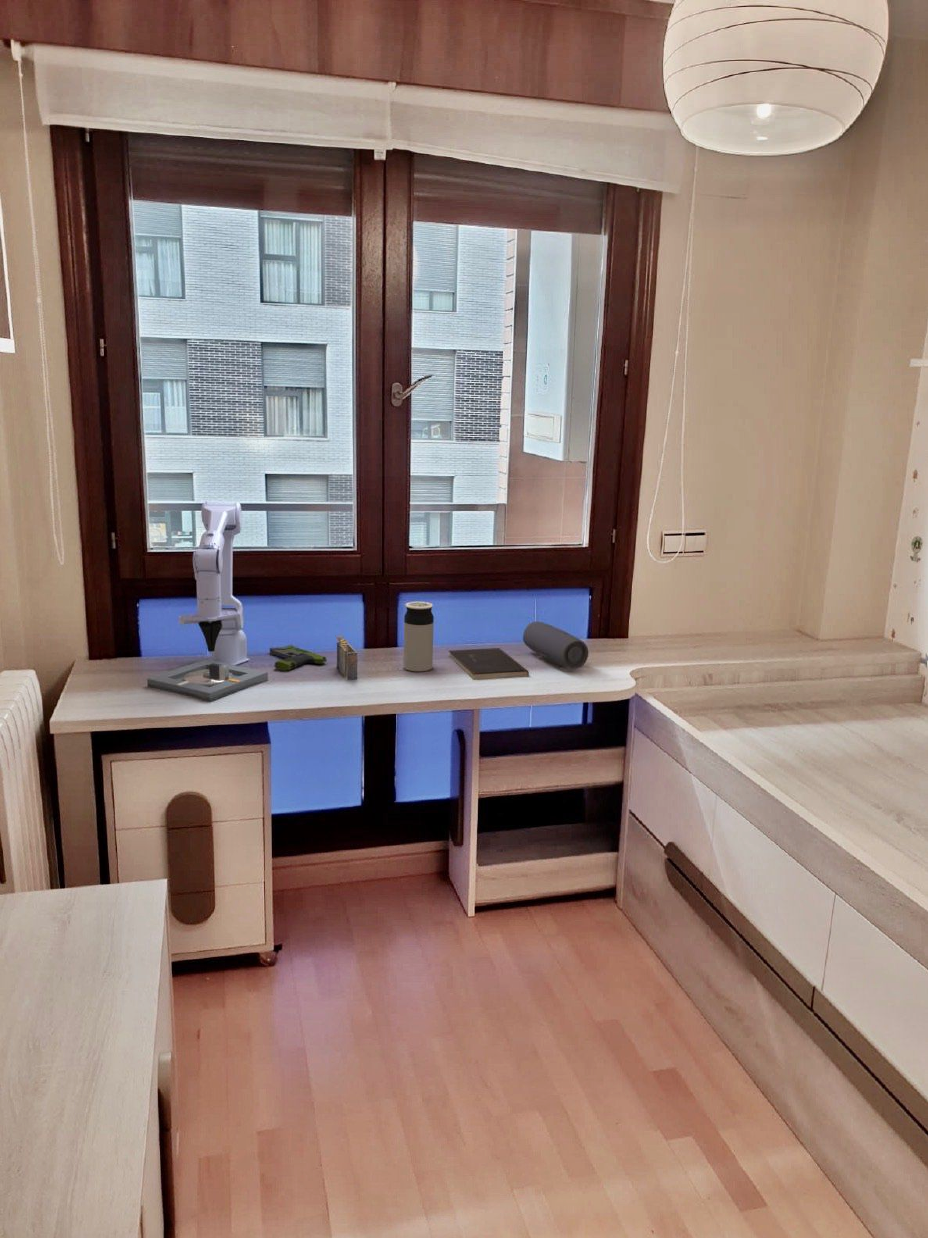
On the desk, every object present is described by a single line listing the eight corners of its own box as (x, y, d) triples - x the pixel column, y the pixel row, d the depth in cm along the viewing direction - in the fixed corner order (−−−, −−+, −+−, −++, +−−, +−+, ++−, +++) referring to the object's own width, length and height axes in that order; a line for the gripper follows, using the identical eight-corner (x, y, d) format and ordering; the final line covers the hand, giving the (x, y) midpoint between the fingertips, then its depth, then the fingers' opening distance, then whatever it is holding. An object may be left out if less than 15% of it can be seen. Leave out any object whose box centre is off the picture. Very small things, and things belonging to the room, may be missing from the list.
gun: (246, 659, 266) (291, 651, 276) (285, 673, 252) (330, 664, 263) (246, 650, 265) (291, 642, 275) (285, 664, 252) (330, 655, 262)
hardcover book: (472, 681, 252) (472, 673, 252) (448, 658, 274) (448, 650, 273) (528, 678, 257) (529, 670, 256) (500, 655, 278) (501, 647, 278)
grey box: (335, 669, 259) (335, 634, 257) (346, 668, 260) (346, 634, 258) (345, 681, 249) (345, 645, 247) (357, 680, 250) (357, 644, 248)
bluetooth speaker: (589, 671, 263) (591, 637, 261) (560, 675, 259) (562, 639, 257) (547, 650, 283) (549, 618, 280) (520, 653, 279) (522, 620, 276)
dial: (173, 681, 239) (173, 665, 238) (205, 670, 250) (205, 654, 249) (211, 689, 234) (210, 672, 233) (242, 677, 245) (241, 661, 244)
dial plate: (206, 667, 256) (206, 658, 255) (267, 680, 246) (267, 671, 246) (147, 686, 238) (146, 677, 237) (210, 702, 228) (210, 692, 228)
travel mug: (432, 672, 257) (433, 608, 253) (402, 671, 257) (403, 607, 253) (432, 664, 265) (434, 601, 261) (404, 663, 265) (405, 600, 261)
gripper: (180, 602, 227) (182, 657, 230) (241, 599, 232) (243, 652, 236) (177, 596, 233) (179, 649, 236) (236, 593, 239) (238, 645, 242)
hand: (210, 650), depth 236 cm, fingers closed
